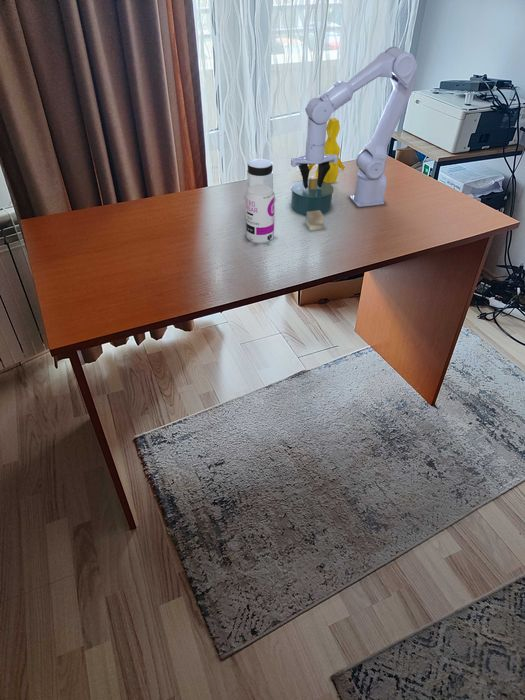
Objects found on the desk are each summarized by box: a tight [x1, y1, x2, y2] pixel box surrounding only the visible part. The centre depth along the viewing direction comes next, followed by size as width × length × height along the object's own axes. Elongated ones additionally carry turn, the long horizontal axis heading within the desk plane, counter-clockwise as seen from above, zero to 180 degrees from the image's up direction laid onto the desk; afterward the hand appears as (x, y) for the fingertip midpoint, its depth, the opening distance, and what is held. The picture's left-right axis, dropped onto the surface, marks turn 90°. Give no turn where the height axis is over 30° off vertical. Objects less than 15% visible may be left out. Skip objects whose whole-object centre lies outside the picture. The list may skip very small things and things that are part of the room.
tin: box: [291, 191, 333, 217], centre depth 155 cm, size 13×13×6 cm
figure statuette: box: [300, 117, 346, 184], centre depth 164 cm, size 18×8×22 cm, turn 113°
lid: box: [290, 175, 334, 199], centre depth 152 cm, size 14×14×4 cm
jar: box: [246, 158, 274, 191], centre depth 157 cm, size 9×8×12 cm
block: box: [305, 210, 325, 231], centre depth 146 cm, size 4×4×4 cm
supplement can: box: [245, 184, 276, 245], centre depth 137 cm, size 8×8×15 cm
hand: (312, 186), depth 152 cm, fingers open, 4 cm apart
